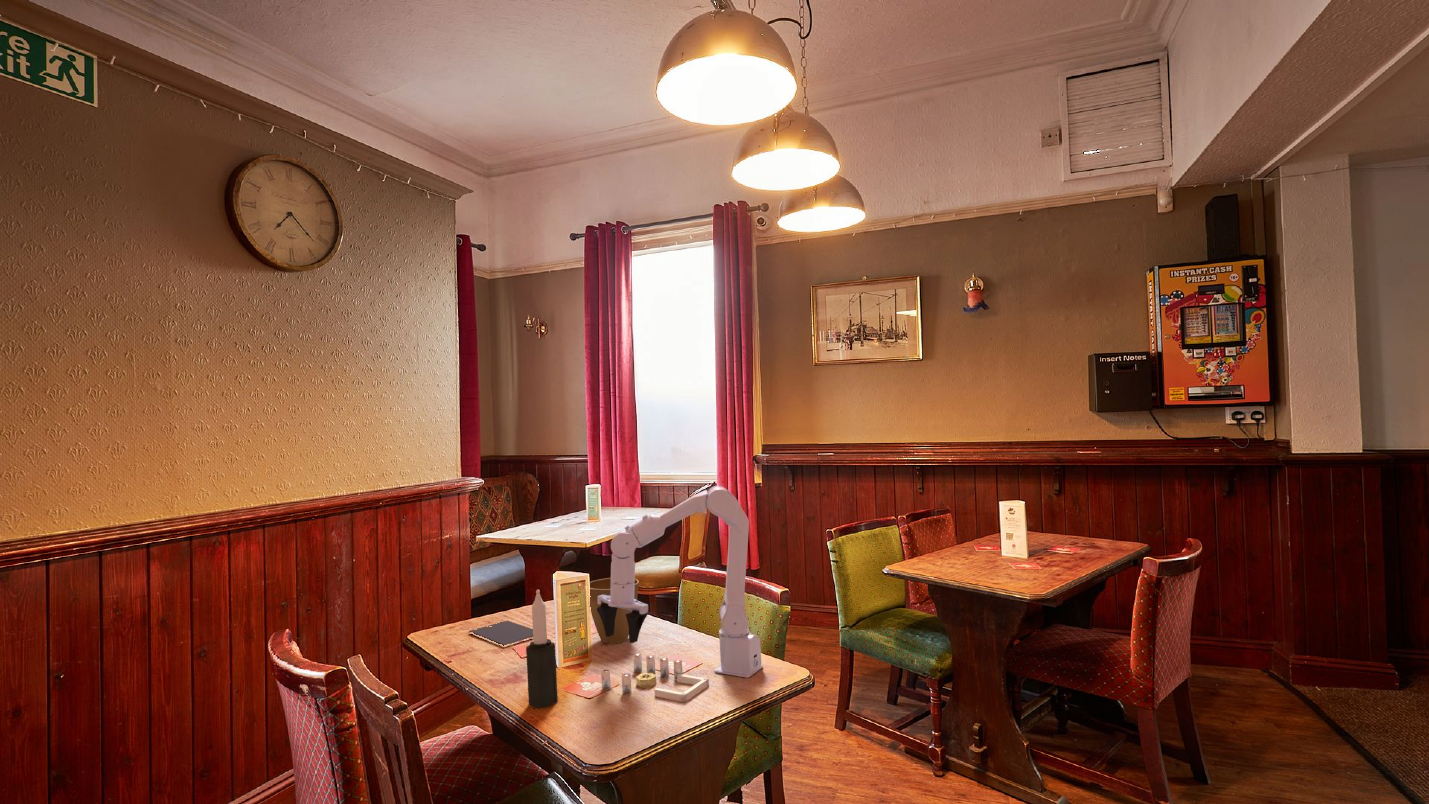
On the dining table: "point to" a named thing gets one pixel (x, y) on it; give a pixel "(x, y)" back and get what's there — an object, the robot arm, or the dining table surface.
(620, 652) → the dining table surface
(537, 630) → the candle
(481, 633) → the notebook
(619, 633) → the plant pot
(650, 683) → the brass nut
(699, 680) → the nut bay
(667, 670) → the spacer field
